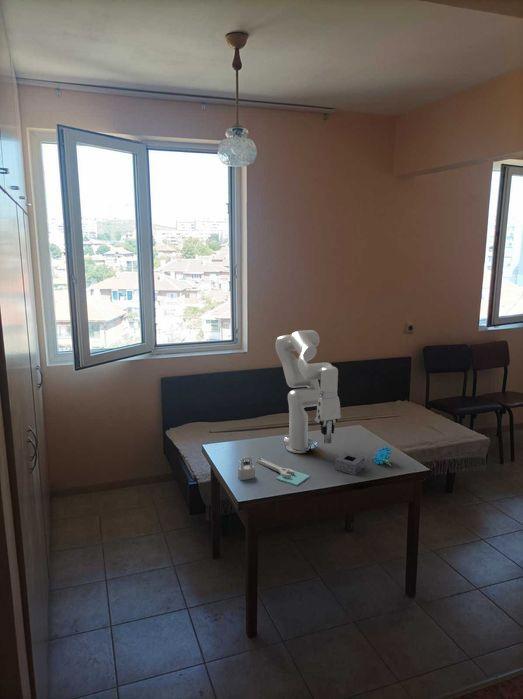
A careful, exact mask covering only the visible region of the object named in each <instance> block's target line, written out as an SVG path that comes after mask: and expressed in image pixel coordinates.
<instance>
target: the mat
mask: <svg viewBox="0 0 523 699" xmlns="http://www.w3.org/2000/svg"><path fill="white" fill-rule="evenodd" d="M288 474H289V473H288ZM294 474H295V475H292V474H291V478H285V477H282V476H281V474H280V475H278V476H277V477H275V479H276V480H277V481H280V482H284V483H287V484H289V485H294V486H296V487H298V486H299V485H300V484H303V482H305V481H306V480H308V479H309V478H310V477H311V475H310V474H305V473H303V472H299V471H296V470H294Z"/></svg>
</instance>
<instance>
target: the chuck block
mask: <svg viewBox="0 0 523 699" xmlns="http://www.w3.org/2000/svg"><path fill="white" fill-rule="evenodd" d="M365 459H366V457H363V456H360V455H356V454H352V453H348V452H344V453H343V454H340V456H338V457H337V458H335V460H334V461H335V462H334V464H335V466H334V467H335V468H334V469H335V470H336V471H338V472H339V471H340V472H342V473H345V474H348V475H349V474H351V475H354V476H356V475H357V474H358V473H359V472H361V471H362V470H363V469H364V468H365Z"/></svg>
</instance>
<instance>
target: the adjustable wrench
mask: <svg viewBox="0 0 523 699" xmlns="http://www.w3.org/2000/svg"><path fill="white" fill-rule="evenodd" d="M255 460H256V463H258V464H261V465H262V466H264V467H266V468H269V469H271V470H273V471H275V472H278V473H279V474H280V475H281V476H282V477H285V478H291V474H292V475H295V474H294V471H295V470H294V469H291V467H290V468H285V467H281V466H279V465H277V464H275V463H272V462H271V461H268V460H266V459H264V458H262V457H256V459H255ZM288 473H289V474H288Z"/></svg>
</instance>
